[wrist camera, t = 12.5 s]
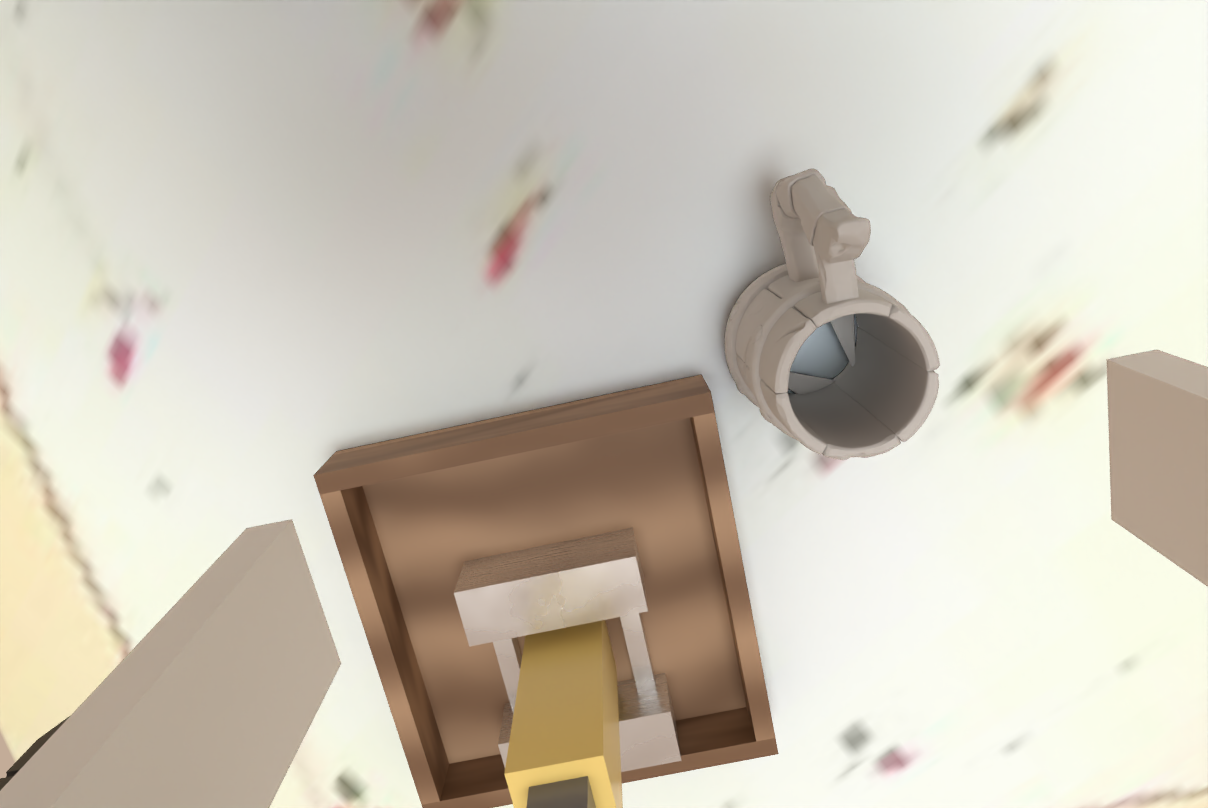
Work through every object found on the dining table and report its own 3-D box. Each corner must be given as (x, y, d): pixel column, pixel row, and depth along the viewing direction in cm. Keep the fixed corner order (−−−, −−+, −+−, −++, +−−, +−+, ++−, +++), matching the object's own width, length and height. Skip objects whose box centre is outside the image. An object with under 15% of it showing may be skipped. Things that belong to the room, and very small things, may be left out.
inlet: (464, 561, 43) (453, 592, 40) (632, 527, 43) (635, 556, 40) (517, 749, 46) (511, 792, 43) (675, 719, 46) (681, 760, 43)
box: (336, 451, 42) (313, 475, 39) (701, 374, 41) (710, 392, 38) (438, 774, 47) (426, 820, 44) (765, 712, 47) (778, 753, 43)
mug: (734, 424, 42) (786, 517, 30) (691, 189, 39) (732, 194, 27) (883, 393, 42) (993, 476, 30) (852, 154, 39) (962, 144, 27)
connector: (528, 617, 44) (498, 811, 31) (601, 603, 44) (604, 791, 30) (545, 681, 45) (523, 896, 32) (616, 668, 45) (625, 877, 32)
